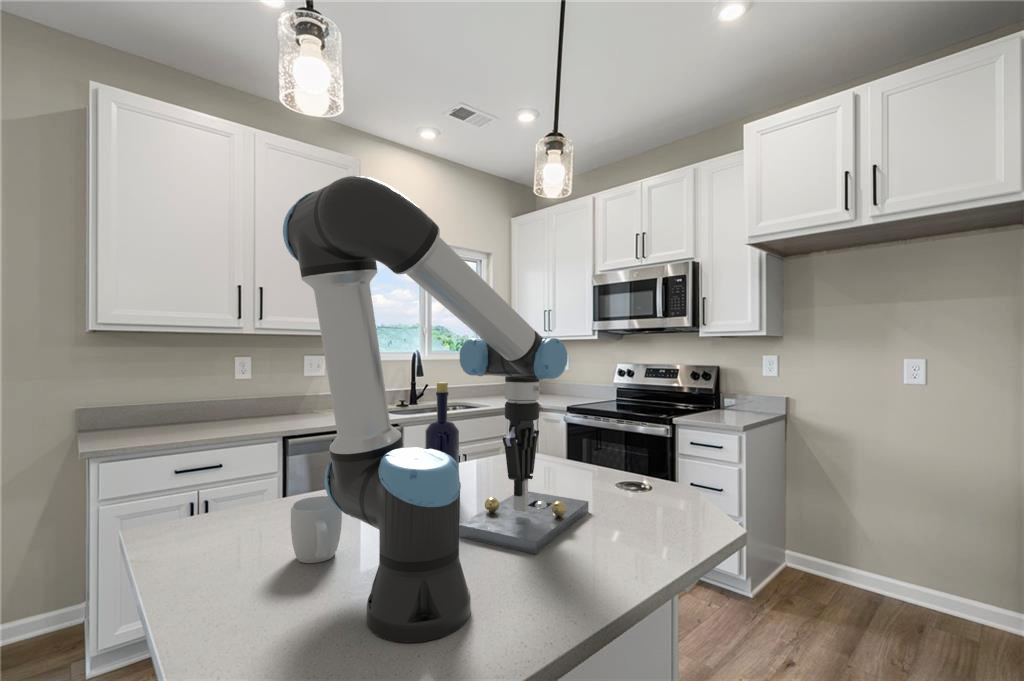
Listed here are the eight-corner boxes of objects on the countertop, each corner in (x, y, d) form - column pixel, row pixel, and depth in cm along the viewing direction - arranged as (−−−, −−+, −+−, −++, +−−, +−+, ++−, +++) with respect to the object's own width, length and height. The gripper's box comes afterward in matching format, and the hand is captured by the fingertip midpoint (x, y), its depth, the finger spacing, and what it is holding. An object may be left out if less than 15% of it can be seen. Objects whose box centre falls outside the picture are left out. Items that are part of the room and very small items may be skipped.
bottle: (462, 495, 132) (463, 381, 132) (455, 506, 123) (456, 384, 123) (428, 493, 133) (429, 381, 133) (418, 504, 124) (419, 383, 124)
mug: (288, 552, 95) (288, 500, 95) (337, 543, 99) (337, 493, 100) (295, 580, 84) (295, 520, 84) (349, 568, 88) (350, 512, 88)
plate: (536, 554, 94) (536, 541, 94) (458, 536, 103) (458, 524, 103) (588, 511, 119) (588, 501, 119) (521, 500, 128) (521, 490, 128)
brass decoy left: (494, 515, 109) (494, 500, 109) (482, 513, 110) (482, 498, 110) (501, 511, 112) (501, 496, 112) (489, 508, 113) (489, 494, 113)
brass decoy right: (562, 519, 106) (562, 504, 106) (549, 517, 108) (549, 502, 108) (568, 515, 109) (568, 500, 109) (555, 512, 111) (555, 498, 111)
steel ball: (550, 501, 117) (549, 515, 117) (538, 499, 119) (537, 513, 118) (544, 502, 115) (543, 517, 114) (532, 500, 116) (531, 515, 116)
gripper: (523, 405, 101) (522, 521, 101) (550, 399, 113) (549, 504, 112) (491, 402, 105) (490, 515, 104) (520, 397, 116) (519, 499, 116)
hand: (520, 509), depth 108 cm, fingers closed
